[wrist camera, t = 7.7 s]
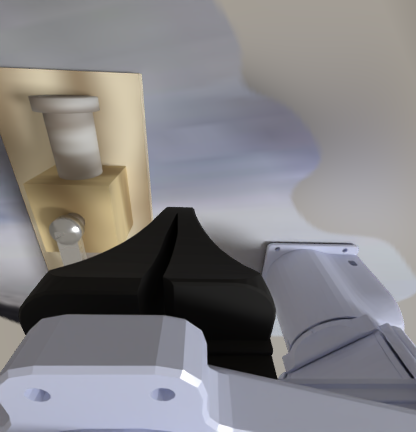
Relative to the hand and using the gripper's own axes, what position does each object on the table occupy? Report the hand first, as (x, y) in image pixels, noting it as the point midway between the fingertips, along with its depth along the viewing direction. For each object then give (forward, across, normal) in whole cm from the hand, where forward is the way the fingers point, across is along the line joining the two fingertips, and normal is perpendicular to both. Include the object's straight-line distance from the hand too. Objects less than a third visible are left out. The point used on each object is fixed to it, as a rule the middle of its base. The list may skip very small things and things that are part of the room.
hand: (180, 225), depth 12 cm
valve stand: (+10, +8, +3) cm, 13 cm away
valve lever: (+5, +8, +8) cm, 12 cm away
